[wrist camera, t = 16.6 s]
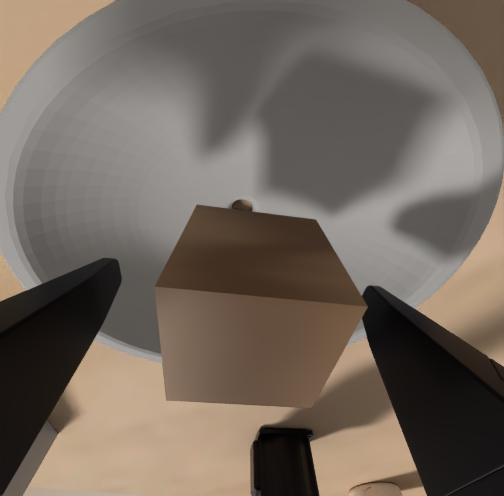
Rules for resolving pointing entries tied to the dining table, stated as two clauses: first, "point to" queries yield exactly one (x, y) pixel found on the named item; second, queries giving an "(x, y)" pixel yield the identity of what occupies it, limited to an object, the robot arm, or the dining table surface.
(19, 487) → the grey cover
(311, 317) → the walnut block
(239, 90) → the dish
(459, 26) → the dining table surface
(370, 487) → the teacup with lid
